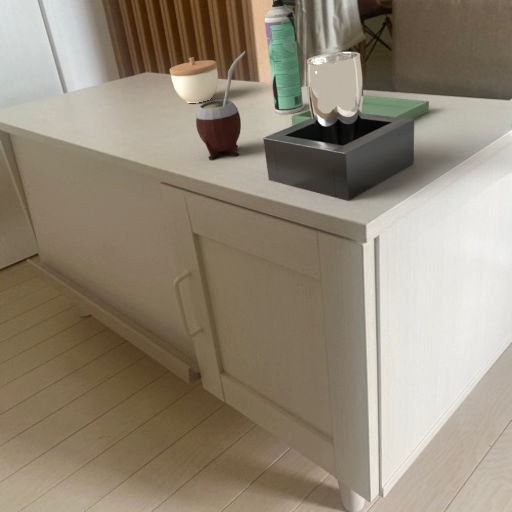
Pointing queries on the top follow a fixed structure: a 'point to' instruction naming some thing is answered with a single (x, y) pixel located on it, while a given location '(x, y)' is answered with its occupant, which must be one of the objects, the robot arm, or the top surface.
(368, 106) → the tray
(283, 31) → the spray can
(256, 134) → the top surface
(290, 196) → the top surface
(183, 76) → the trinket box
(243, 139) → the top surface
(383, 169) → the basin
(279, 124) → the top surface
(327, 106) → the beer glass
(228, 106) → the mate gourd
